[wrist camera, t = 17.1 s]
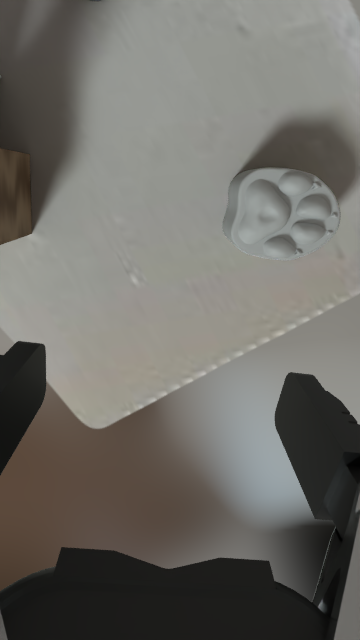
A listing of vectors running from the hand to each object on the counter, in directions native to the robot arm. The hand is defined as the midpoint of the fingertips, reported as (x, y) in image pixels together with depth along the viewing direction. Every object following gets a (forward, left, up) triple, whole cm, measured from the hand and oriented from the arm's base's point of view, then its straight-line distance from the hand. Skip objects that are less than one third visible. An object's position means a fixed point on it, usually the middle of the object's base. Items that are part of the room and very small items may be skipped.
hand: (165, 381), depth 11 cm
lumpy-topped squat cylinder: (-4, +14, -38) cm, 41 cm away
